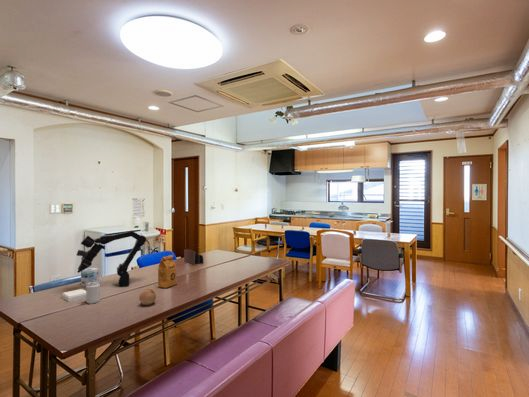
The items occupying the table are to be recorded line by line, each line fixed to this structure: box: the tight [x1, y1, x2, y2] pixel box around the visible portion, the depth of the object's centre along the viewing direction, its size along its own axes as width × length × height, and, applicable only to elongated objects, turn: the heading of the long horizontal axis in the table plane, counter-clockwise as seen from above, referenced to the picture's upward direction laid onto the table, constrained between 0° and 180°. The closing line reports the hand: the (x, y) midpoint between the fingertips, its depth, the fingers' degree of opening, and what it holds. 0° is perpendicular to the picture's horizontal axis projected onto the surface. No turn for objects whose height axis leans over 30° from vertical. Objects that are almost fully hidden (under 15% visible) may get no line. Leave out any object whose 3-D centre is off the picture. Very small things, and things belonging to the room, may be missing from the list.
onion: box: [138, 288, 157, 306], centre depth 181 cm, size 10×9×10 cm
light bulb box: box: [80, 267, 100, 287], centre depth 224 cm, size 11×7×11 cm, turn 168°
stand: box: [61, 288, 86, 302], centre depth 194 cm, size 12×12×3 cm
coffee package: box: [157, 254, 178, 289], centre depth 217 cm, size 10×12×22 cm
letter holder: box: [183, 248, 204, 266], centre depth 290 cm, size 10×20×14 cm, turn 44°
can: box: [85, 281, 101, 305], centre depth 185 cm, size 8×8×12 cm
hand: (78, 270), depth 204 cm, fingers open, 9 cm apart
